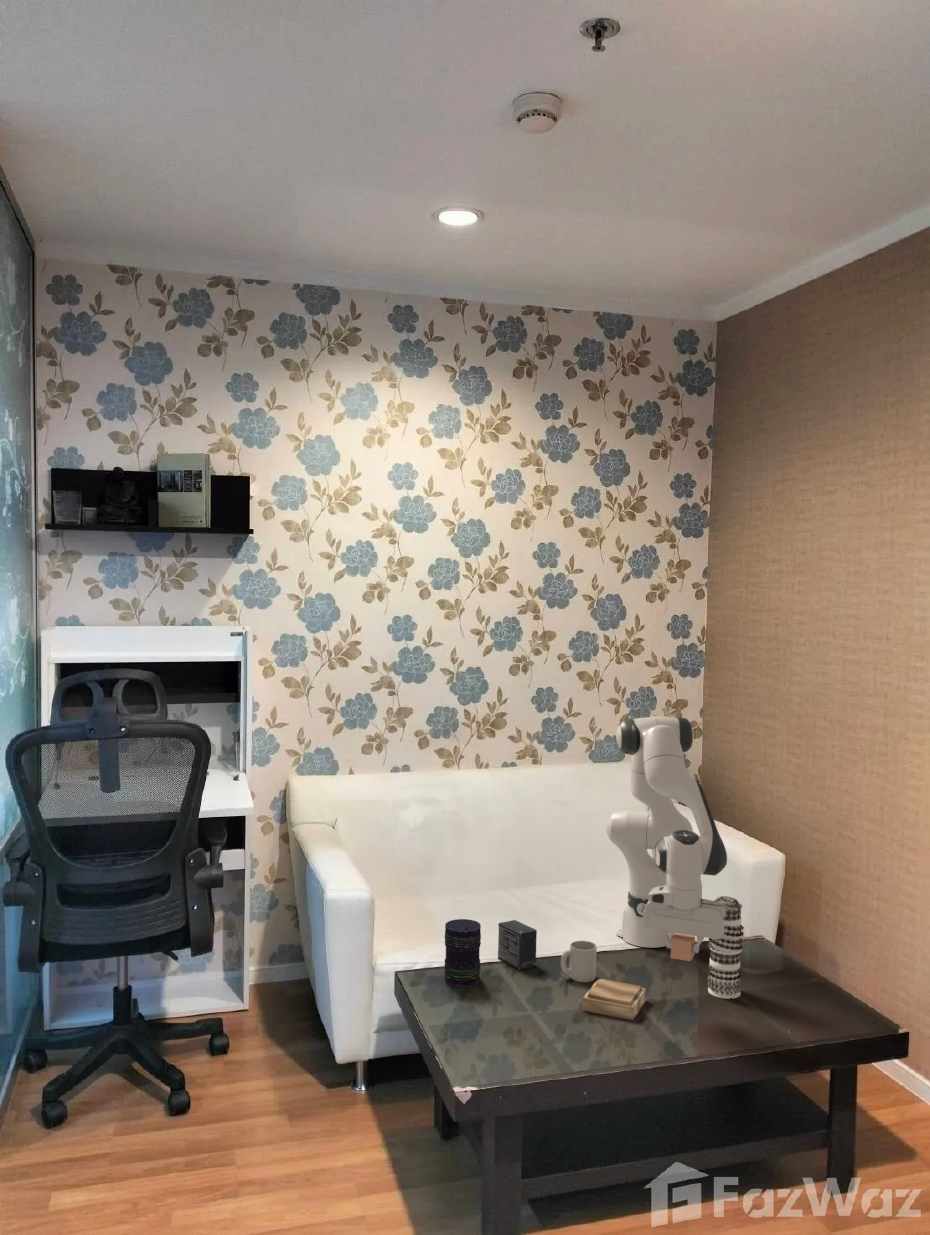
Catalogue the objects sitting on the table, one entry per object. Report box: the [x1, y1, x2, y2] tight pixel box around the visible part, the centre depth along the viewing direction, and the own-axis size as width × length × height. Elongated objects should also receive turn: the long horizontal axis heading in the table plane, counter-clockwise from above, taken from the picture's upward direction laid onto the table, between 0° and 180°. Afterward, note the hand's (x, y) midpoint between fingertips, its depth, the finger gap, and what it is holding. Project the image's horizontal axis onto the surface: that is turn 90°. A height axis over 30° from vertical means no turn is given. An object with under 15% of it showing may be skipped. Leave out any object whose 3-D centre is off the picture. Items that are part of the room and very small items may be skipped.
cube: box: [670, 933, 696, 962], centre depth 256 cm, size 5×5×5 cm
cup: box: [560, 940, 598, 983], centre depth 275 cm, size 7×10×9 cm
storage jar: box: [443, 918, 482, 988], centre depth 273 cm, size 10×10×15 cm
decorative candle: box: [707, 895, 744, 1000], centre depth 267 cm, size 9×9×25 cm
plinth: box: [582, 978, 647, 1021], centre depth 258 cm, size 13×13×4 cm
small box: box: [497, 919, 538, 971], centre depth 286 cm, size 11×6×10 cm, turn 34°
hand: (682, 949), depth 256 cm, fingers closed on cube, 5 cm apart
